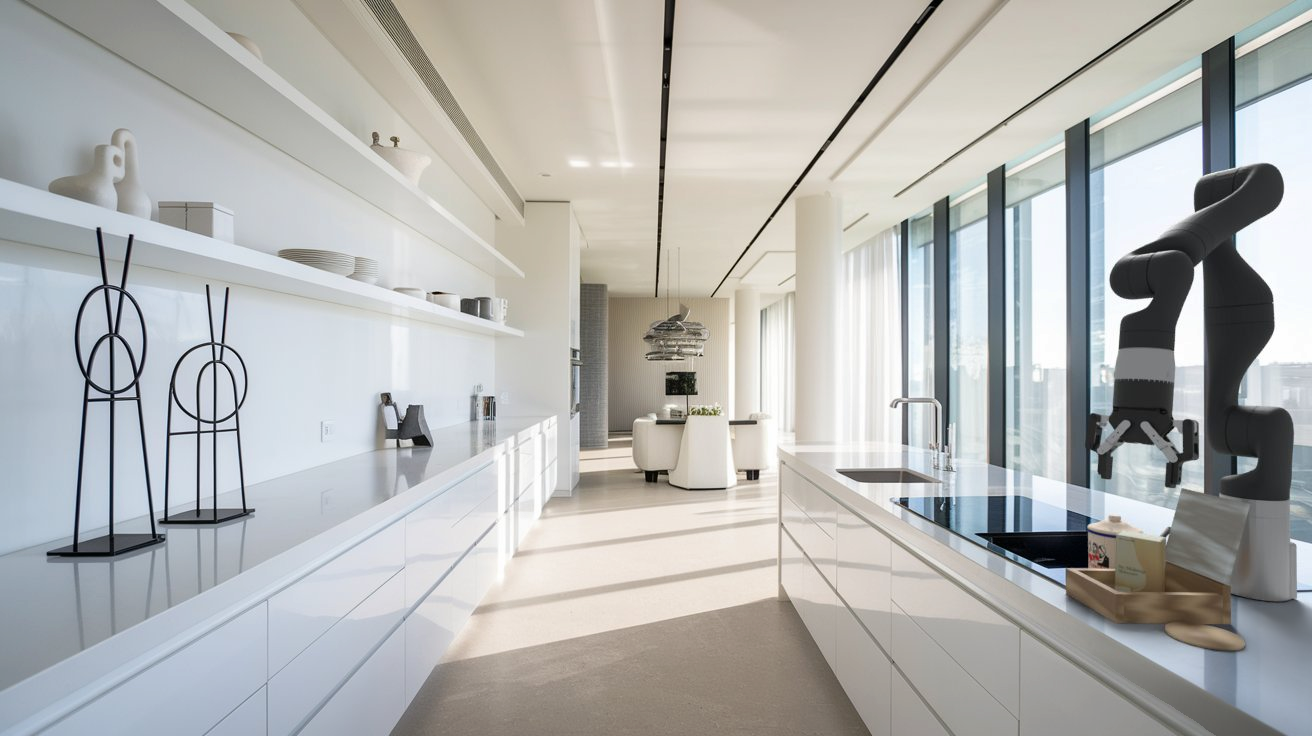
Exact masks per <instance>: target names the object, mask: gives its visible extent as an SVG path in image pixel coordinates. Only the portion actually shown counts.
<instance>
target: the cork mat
mask: <svg viewBox="0 0 1312 736" xmlns="http://www.w3.org/2000/svg"><path fill="white" fill-rule="evenodd" d="M1164 631H1165V633H1166V634H1167V635H1168V636H1170V637H1171V638H1172V639H1173V638H1174V639H1175V640H1178V641H1179V642H1182V643H1185V644H1188V645H1192V646H1195V647H1198V648H1199V647H1200V648H1204V649H1209V650H1217V651H1224V652H1225V651H1229V652H1232V651H1241V650H1243V649H1244V648H1245V640H1244V639H1243V638H1242V637H1241V636H1240V635H1238V634H1236V633H1234V632H1231V631H1229V630H1226V629H1223V628H1219V627H1215V626H1213V625H1210V624H1198V623H1191V622H1171V623H1167V624H1165V625H1164Z"/></svg>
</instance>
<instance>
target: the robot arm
mask: <svg viewBox="0 0 1312 736" xmlns="http://www.w3.org/2000/svg"><path fill="white" fill-rule="evenodd" d="M1284 193H1285V182H1284V178H1283V176H1282V173H1281V171H1280V170H1279V168H1278V167H1276V166H1275V165H1274V164H1271V163H1267V162H1255V163H1250V164H1247V165H1246V164H1245V165H1241V166H1237V167H1233V168H1229V169H1223V170H1219V171H1216V172H1211V173H1209V174H1205V175H1203V176H1201V177H1200V178H1198V180H1197V182H1196V184H1195V187H1194V190H1193V209H1194V212H1193V213H1192V214H1189V215H1187V216H1184V218H1181V219H1180V220H1178V221H1177V222H1175V223H1174V224H1172V225H1171V226H1170V227H1169V228H1168V229H1166V230H1165V231H1164V232H1163V233H1162V234H1161V235H1160V236H1159V237H1158V238H1156V239H1155V240H1153V241H1150V242H1148V243H1146V244H1144V245H1142V246H1140V247H1138V248H1135V249H1134V250H1132V251H1130V252H1128V253H1126V254H1125V255H1123V256H1122V257H1121V258H1120V259H1118V260H1117V261H1116V262H1115V264H1114V265H1113V266H1112V269H1111V270H1110V274H1109V278H1108V279H1109V280H1108V281H1109V287H1110V288H1111V290H1112V292H1113V293H1114V294H1115V295H1116V296H1118V297H1119V298H1121V299H1124V300H1133V301H1134V300H1135V301H1136V300H1144V299H1151V300H1150V302H1149V304H1148V305H1147V306H1146V307H1145V308H1143V309H1141V310H1137V311H1135V312H1130V313H1127V314H1125V315H1124V316H1122V319H1121V320H1120V324H1119V336H1118V350H1117V357H1116V360H1115V366H1114V372H1113V377H1114V379H1113V381H1114V382H1113V394H1112V396H1113V397H1112V411H1111V413H1110V415H1105V414H1100V413H1098V412H1097V413H1094V412H1092V413H1090V414H1089V415H1088V420H1087V429H1086V434H1085V435H1086V436H1085V443H1084V447H1085V448H1086V449H1087V450H1090V451H1093V452H1095V453H1096V454H1097V467H1096V468H1097V475H1099V476H1100V478H1101V479H1102V480H1109V481H1110V480H1112V477H1113V464H1114V463H1113V461H1114V456H1112V454H1113V453H1114V452H1115V451H1117V449H1118V448H1119V447H1122V446H1123V445H1124V444H1125V443H1127V444H1133V445H1134V444H1135V445H1137V444H1141V445H1147V446H1156V447H1157V449H1158V450H1159V451H1161V453H1162V454H1163V455H1164V456H1165V458H1166V460H1167V461H1168V462H1167V461H1166V463H1165V465H1166V466H1165V474H1164V475H1165V478H1164V479H1165V480H1164V487H1165V488H1168V489H1176V487H1177V486H1178V485H1181V483H1182V478H1183V477H1182V475H1183V464H1185V463H1187V462H1191V461H1197V460H1199V459H1200V428H1199V427H1200V426H1199V425H1200V424H1199V421H1197V420H1195V419H1190V418H1185V419H1174V416H1173V409H1174V408H1173V406H1174V394H1175V392H1174V391H1175V380H1176V379H1175V378H1176V377H1175V376H1176V361H1175V345H1176V331H1177V329H1176V327H1177V324H1178V321H1179V319H1180V316H1181V313H1182V310H1183V307H1184V304H1185V302H1186V300H1187V297H1188V295H1189V293H1190V291H1191V289H1192V286H1193V283H1194V278H1195V267H1197V266H1198V265H1199V264H1200V263H1202V272H1203V273H1202V275H1203V276H1202V278H1203V302H1204V303H1203V307H1204V308H1203V311H1204V313H1203V314H1204V324H1205V325H1204V327H1205V336H1206V346H1207V348H1206V349H1207V364H1208V383H1207V384H1208V385H1207V402H1206V437H1207V439H1208V443H1209V446H1210V447H1211V449H1212V450H1213V452H1215V453H1217V454H1219V455H1224V456H1233V457H1241V458H1242V457H1244V458H1253V459H1257V463H1256V466H1255V467H1254V469H1252V470H1248V471H1247V472H1244V473H1243V472H1242V473H1238V474H1237V473H1236V474H1231V475H1225V476H1223V477H1221V478H1220V479H1219V484H1218V485H1219V487H1218V488H1219V490H1218V491H1219V496H1218V497H1221V498H1226V499H1230V500H1234V501H1238V502H1243V503H1247V504H1250V507H1249V511H1248V514H1247V518H1246V522H1245V525H1244V529H1243V533H1242V537H1241V540H1240V544H1239V548H1238V551H1237V555H1236V559H1235V562H1234V566H1233V570H1232V573H1231V577H1230V581H1229V584H1227V585H1230V586H1231V595H1232V594H1233V595H1236V596H1239V597H1243V598H1247V599H1253V600H1258V601H1268V602H1287V601H1290V600H1292V599H1293V600H1294V599H1295V600H1296V599H1298V574H1297V572H1298V562H1297V561H1298V560H1297V559H1298V558H1297V557H1298V556H1297V555H1298V552H1297V544H1296V543H1295V542H1293V541H1291V486H1292V478H1293V453H1294V443H1295V427H1294V422H1293V418H1292V416H1291V414H1290V412H1289V411H1288V410H1286V409H1285V408H1283V407H1280V406H1270V405H1268V406H1267V405H1245V404H1244V405H1243V404H1239V393H1240V387H1241V383H1242V380H1243V378H1244V376H1245V374H1246V372H1247V371H1248V370H1249V368H1250V366H1251V365H1252V364H1253V363H1254V361H1255V360H1256V359H1257V358H1258V357H1259V355H1260V354H1261V353H1262V352H1263V350H1264V349H1265V347H1266V346H1267V344H1268V343H1269V342H1270V340H1271V339H1272V337H1273V335H1274V332H1275V327H1276V326H1275V324H1276V323H1275V305H1274V294H1273V291H1272V289H1271V287H1270V286H1269V284H1268V283H1267V282H1266V280H1264V279H1263V277H1261V275H1260V274H1259V273H1258V272H1257V271H1256V270H1255V269H1254V268H1253V267H1252V266H1251V264H1249V263H1248V262H1247V261H1246V260H1245V258H1243V256H1241V254H1240V253H1239V251H1238V250H1237V248H1236V246H1235V244H1234V240H1233V239H1232V236H1234V235H1236V234H1237V233H1239V232H1240V231H1242V230H1243V229H1245V228H1247V227H1249V226H1250V225H1252V224H1253V223H1255V222H1257V221H1258V220H1261V219H1262V218H1264V217H1266V216H1268V215H1269V214H1271V213H1272V212H1274V211H1275V210H1276V209H1277V208H1279V205H1280V204H1281V203H1282V200H1283V198H1284ZM1108 423H1109V424H1110V426H1111V427H1112V429H1113V431H1112V432H1111V433H1110V434H1109V435H1108V436H1107V437H1105V440H1104V441H1103V442H1102V435H1103V429H1105V428H1106V427H1107V424H1108ZM1175 428H1176V429H1177V432H1178V433H1179V434H1181V435H1182V452H1180V451H1179V449H1178V448H1177V447H1176V445H1175V443H1174V442H1173V441H1172V440H1171V439H1170V437H1169V434H1170V433H1171V432H1172V431H1173V430H1174V429H1175ZM1101 443H1102V444H1101Z"/></svg>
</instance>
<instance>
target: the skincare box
mask: <svg viewBox="0 0 1312 736" xmlns="http://www.w3.org/2000/svg"><path fill="white" fill-rule="evenodd" d="M1166 544H1167V537H1166V538H1165V537H1161V536H1160V535H1153V534H1150V533H1149V534H1148V533H1144V532H1143V533H1137V532H1130V531H1124V530H1122V531H1120V532H1119V533H1117V534H1116V559H1115V590H1116V591H1118V592H1165V561H1166Z"/></svg>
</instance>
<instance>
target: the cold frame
mask: <svg viewBox="0 0 1312 736" xmlns="http://www.w3.org/2000/svg"><path fill="white" fill-rule="evenodd" d="M1177 500H1178V501H1177V504H1176V509H1175V511H1174V516H1173V520H1172V523H1171V526H1168V527H1166V528H1165V529H1164V531H1163V532H1162V533H1161V534H1160V535H1159V536H1161V537H1165V538H1166V539H1167V540H1166V560H1165V592H1118V591H1116V590H1115V569H1091V568H1082V567H1081V568H1080V567H1079V568H1077V567H1076V568H1075V567H1070V568H1068V567H1066V568H1065V593H1066V594H1067V595H1068V596H1069V597H1071V598H1073V599H1074V600H1076V601H1078V602H1080V603H1082V604H1083V605H1085V606H1086V607H1088V608H1090V609H1091V610H1094V611H1095V612H1096V613H1098V614H1100V615H1102V616H1103V617H1105V618H1107V619H1109V620H1110V621H1112V622H1114V623H1115V624H1165V625H1166V624H1167V623H1171V622H1191V623H1198V624H1204V625H1232V593H1231V586H1230V585H1227V584H1229V581H1230V577H1231V573H1232V570H1233V566H1234V562H1235V559H1236V555H1237V551H1238V548H1239V544H1240V540H1241V537H1242V533H1243V529H1244V525H1245V522H1246V518H1247V514H1248V511H1249V507H1250V504H1247V503H1243V502H1238V501H1234V500H1230V499H1226V498H1221V497H1219V496H1216V495H1213V494H1209V493H1204V492H1201V491H1196V490H1191V489H1187V488H1183V487H1181V489H1180V492H1179V497H1178V499H1177Z"/></svg>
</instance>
